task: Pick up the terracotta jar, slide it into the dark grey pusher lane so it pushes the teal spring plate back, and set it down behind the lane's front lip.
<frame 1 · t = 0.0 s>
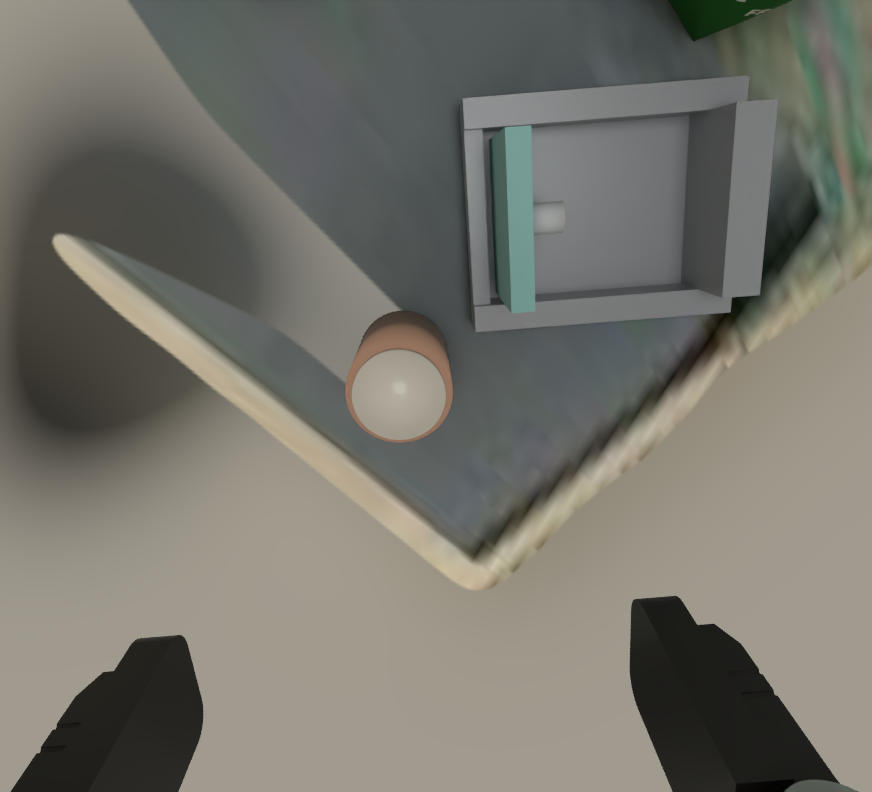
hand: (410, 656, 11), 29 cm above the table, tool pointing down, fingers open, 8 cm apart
pusher: (529, 218, 33), point 4 cm above the table, slide at 0.0 cm
jar: (403, 353, 39), on the table
lane: (590, 209, 37), on the table
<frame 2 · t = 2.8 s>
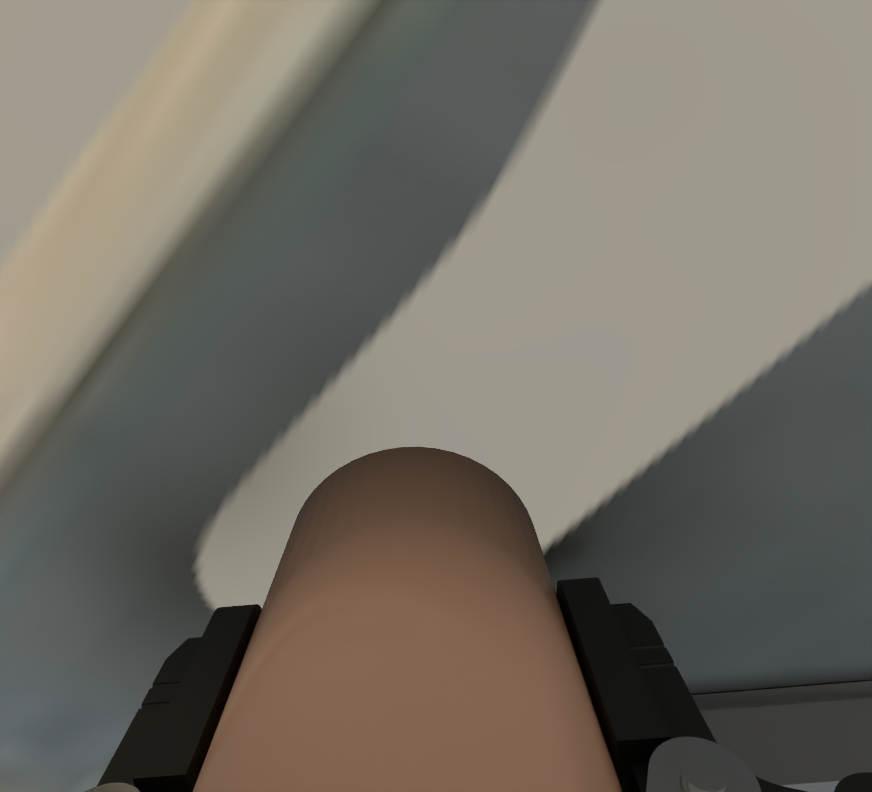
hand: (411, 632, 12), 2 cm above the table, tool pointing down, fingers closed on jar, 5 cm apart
jar: (414, 561, 14), on the table, touching gripper
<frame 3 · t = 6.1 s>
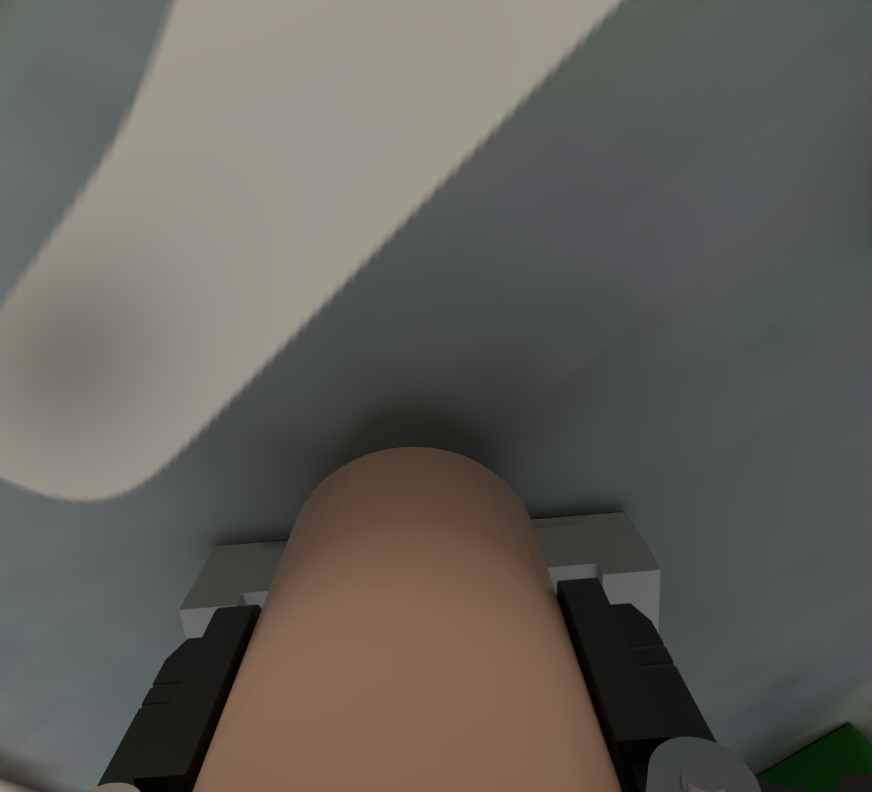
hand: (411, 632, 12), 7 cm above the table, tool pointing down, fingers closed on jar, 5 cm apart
jar: (414, 560, 14), point 4 cm above the table, touching gripper
lane: (439, 719, 21), on the table
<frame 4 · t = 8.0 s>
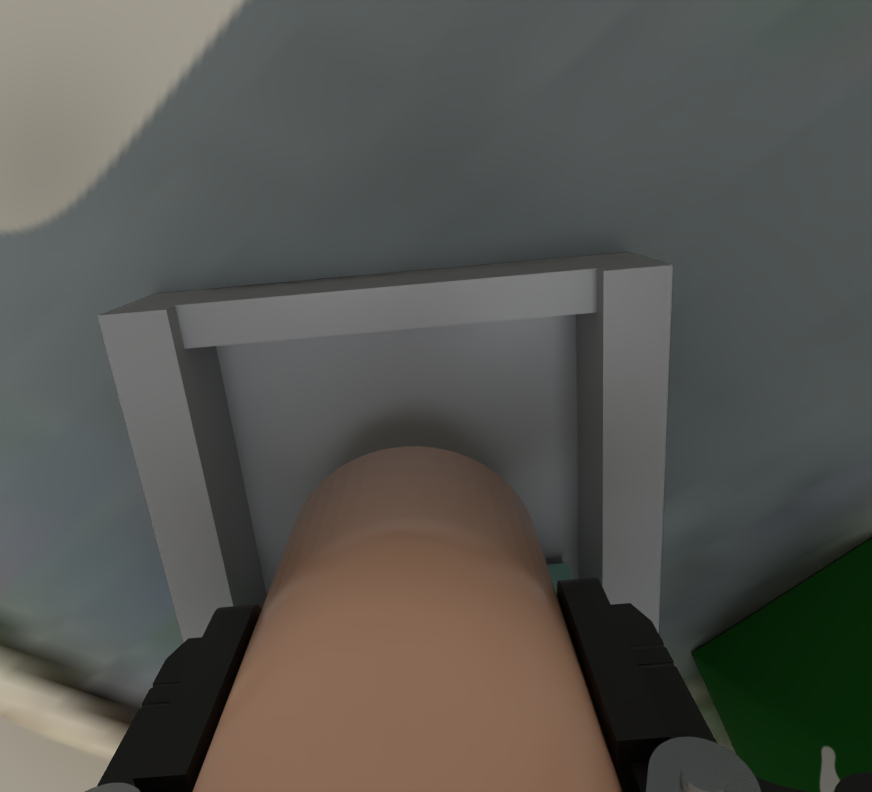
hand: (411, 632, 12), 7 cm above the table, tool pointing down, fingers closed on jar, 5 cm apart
pusher: (427, 714, 15), point 4 cm above the table, slide at 7.2 cm, touching jar
milk carton: (828, 654, 21), on the table
jar: (414, 560, 14), point 4 cm above the table, touching gripper, pusher
lane: (417, 523, 18), on the table
when the fingers open (4 cm above the table, at t = 9.5 s): jar stays where it is, resting on lane, pusher.
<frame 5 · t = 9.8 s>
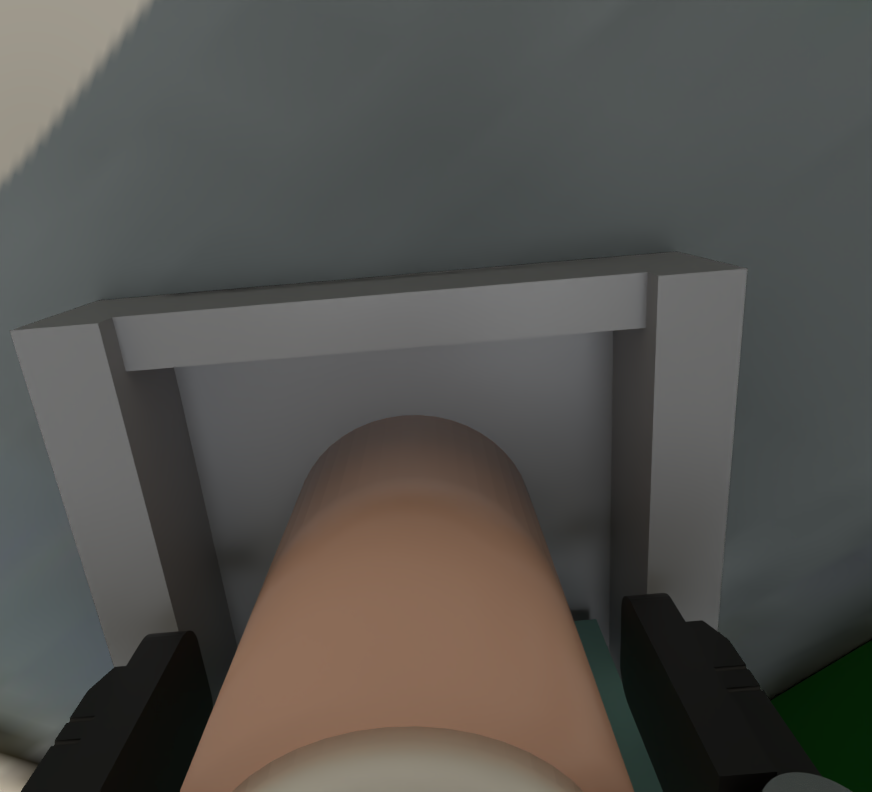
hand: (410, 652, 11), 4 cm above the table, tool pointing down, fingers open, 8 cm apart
jar: (414, 525, 15), resting on lane, pusher
lane: (418, 572, 16), on the table
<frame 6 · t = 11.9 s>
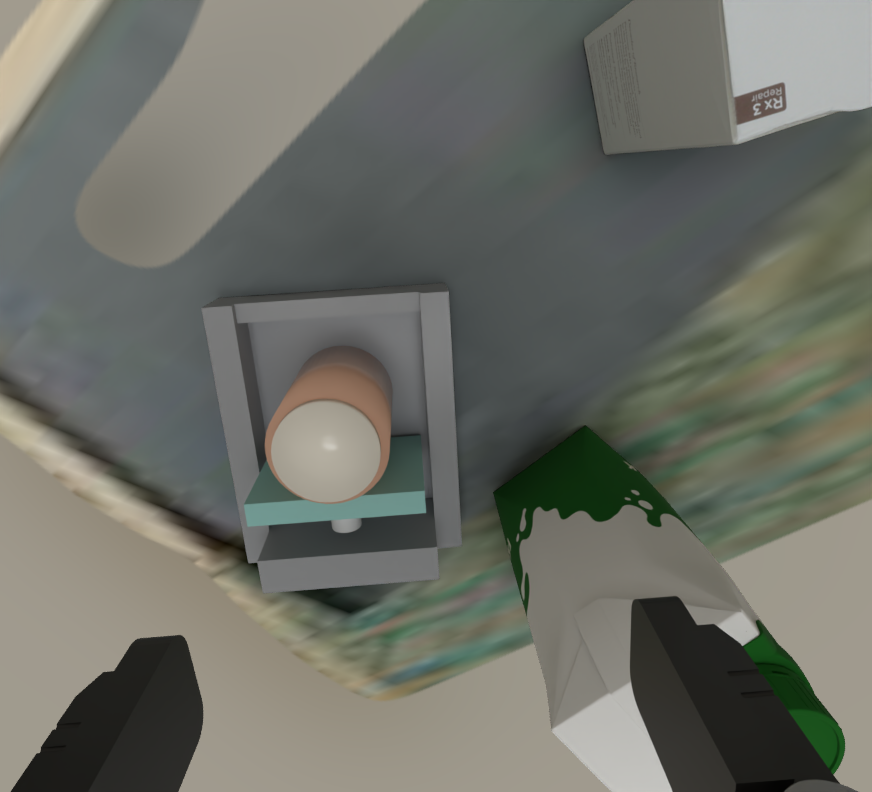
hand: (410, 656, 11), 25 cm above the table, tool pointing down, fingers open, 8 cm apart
skincare box: (662, 81, 31), on the table
pusher: (344, 493, 33), point 4 cm above the table, slide at 7.1 cm, touching jar
milk carton: (568, 496, 39), on the table
jar: (344, 392, 35), resting on lane, pusher
lane: (346, 417, 36), on the table
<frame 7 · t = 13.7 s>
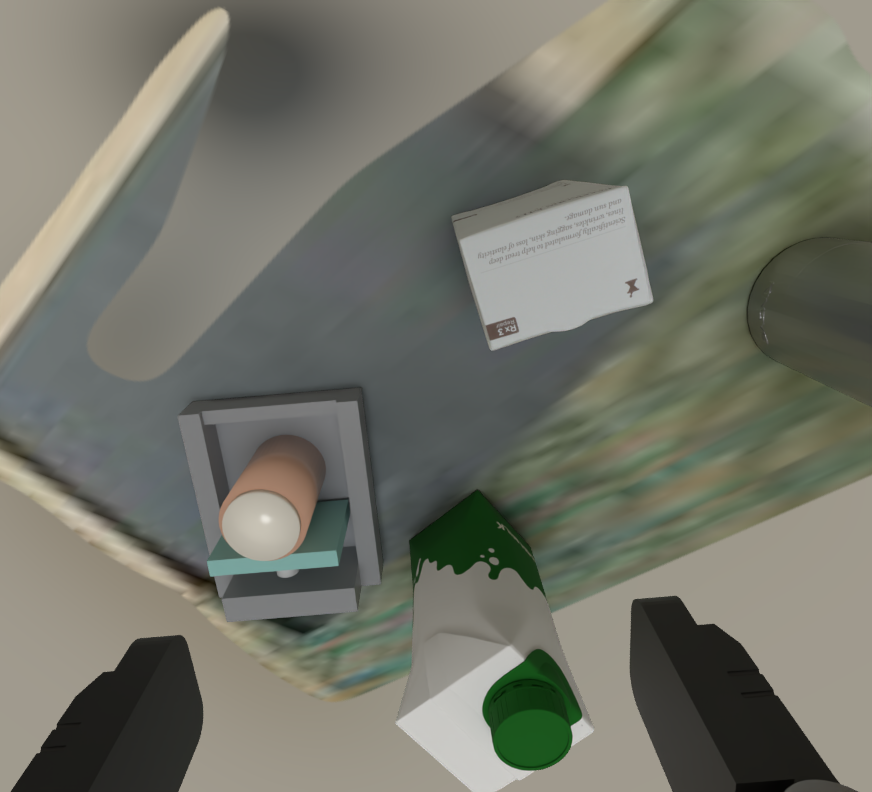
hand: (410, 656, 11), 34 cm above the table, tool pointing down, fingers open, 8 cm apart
skincare box: (514, 241, 42), on the table
pusher: (286, 547, 44), point 4 cm above the table, slide at 7.1 cm, touching jar
milk carton: (469, 542, 50), on the table
jar: (288, 468, 46), resting on lane, pusher
lane: (292, 485, 47), on the table
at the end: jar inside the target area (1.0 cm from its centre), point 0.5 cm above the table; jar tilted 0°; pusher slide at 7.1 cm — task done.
